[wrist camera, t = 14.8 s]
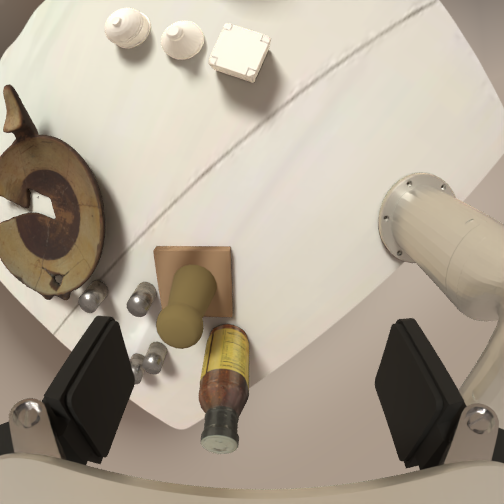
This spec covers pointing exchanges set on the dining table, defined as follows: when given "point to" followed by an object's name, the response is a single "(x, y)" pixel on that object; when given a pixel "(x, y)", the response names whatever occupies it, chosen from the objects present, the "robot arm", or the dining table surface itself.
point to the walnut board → (205, 256)
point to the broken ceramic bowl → (64, 204)
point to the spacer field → (138, 308)
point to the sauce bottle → (224, 387)
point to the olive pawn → (186, 306)
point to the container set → (194, 42)
